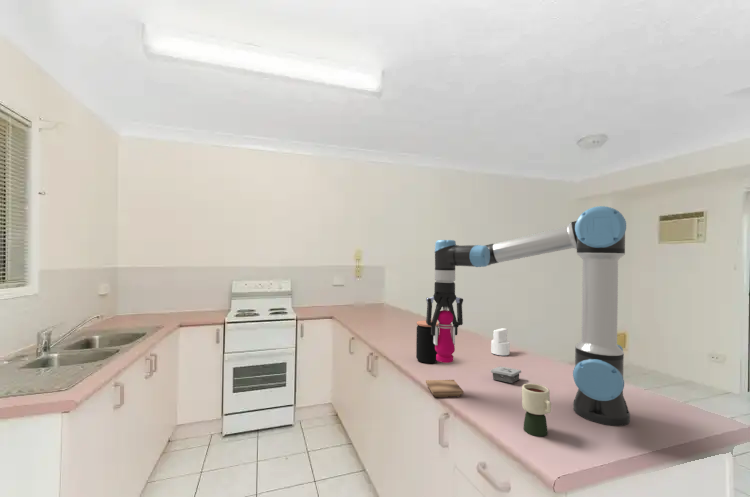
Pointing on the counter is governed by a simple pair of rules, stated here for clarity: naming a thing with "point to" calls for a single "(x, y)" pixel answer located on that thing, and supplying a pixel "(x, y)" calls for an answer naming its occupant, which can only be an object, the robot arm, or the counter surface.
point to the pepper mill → (445, 337)
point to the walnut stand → (444, 388)
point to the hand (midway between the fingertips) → (444, 343)
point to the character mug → (535, 408)
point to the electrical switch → (506, 374)
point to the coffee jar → (425, 343)
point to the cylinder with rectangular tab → (500, 342)
